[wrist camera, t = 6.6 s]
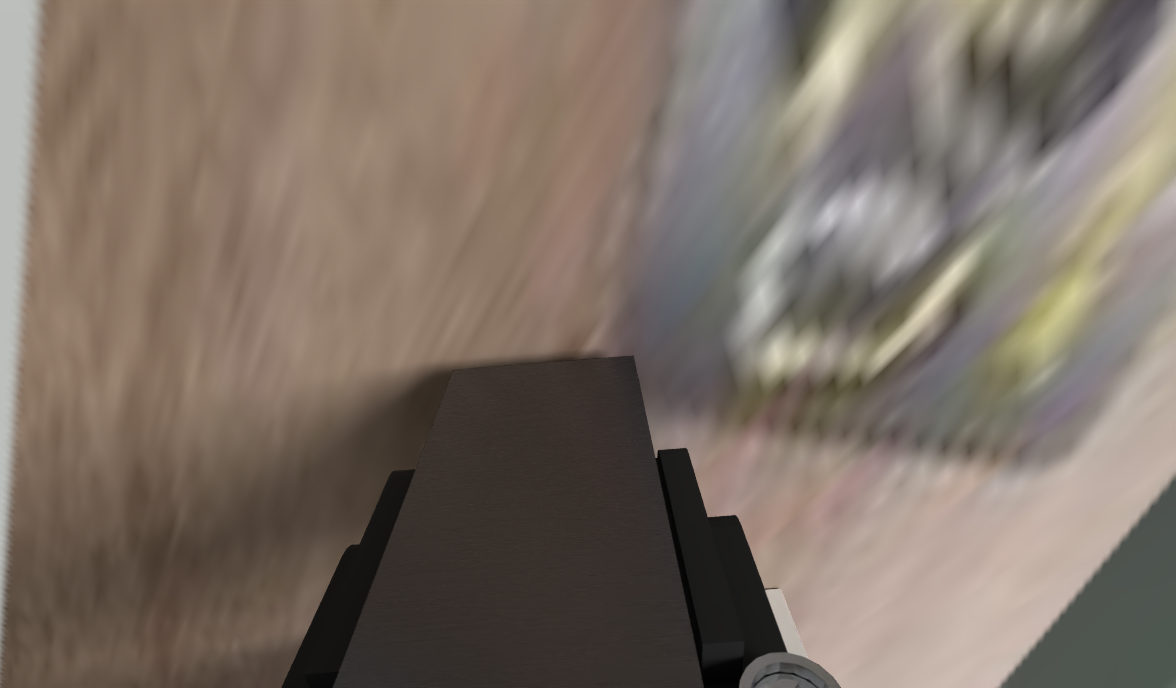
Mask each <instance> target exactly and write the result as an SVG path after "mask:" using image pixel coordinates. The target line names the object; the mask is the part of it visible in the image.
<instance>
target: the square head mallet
mask: <svg viewBox="0 0 1176 688" xmlns="http://www.w3.org/2000/svg"><path fill="white" fill-rule="evenodd" d="M333 688H704V685H703V680H702V676H701V671H700V666H699V661H698V657H697V652H696V647H695V643H694V638H693V633H692V628H691V624H690V619H689V614H688V610H687V605H686V600H685V596H684V591H683V586H682V581H681V577H680V572H679V567H678V563H677V558H676V553H675V548H674V544H673V539H672V534H671V530H670V525H669V520H668V515H667V511H666V506H665V501H664V497H663V492H662V487H661V483H660V478H659V473H658V468H657V464H656V459H655V454H654V450H653V445H652V440H651V435H650V431H649V426H648V421H647V417H646V412H645V407H644V403H643V398H642V393H641V388H640V384H639V379H638V374H637V370H636V365H635V360H634V356H622V357H609V358H597V359H585V360H572V361H560V362H547V363H535V364H523V365H510V366H498V367H486V368H473V369H461V370H453V372H452V375H451V378H450V380H449V383H448V386H447V388H446V391H445V393H444V396H443V399H442V401H441V404H440V407H439V409H438V412H437V415H436V417H435V420H434V422H433V425H432V428H431V430H430V433H429V436H428V438H427V441H426V444H425V446H424V449H423V451H422V454H421V457H420V459H419V462H418V465H417V467H416V470H415V472H414V475H413V478H412V480H411V483H410V486H409V488H408V491H407V494H406V496H405V499H404V501H403V504H402V507H401V509H400V512H399V515H398V517H397V520H396V523H395V525H394V528H393V530H392V533H391V536H390V538H389V541H388V544H387V546H386V549H385V552H384V554H383V557H382V559H381V562H380V565H379V567H378V570H377V573H376V575H375V578H374V580H373V583H372V586H371V588H370V591H369V594H368V596H367V599H366V602H365V604H364V607H363V609H362V612H361V615H360V617H359V620H358V623H357V625H356V628H355V631H354V633H353V636H352V638H351V641H350V644H349V646H348V649H347V652H346V654H345V657H344V659H343V662H342V665H341V667H340V670H339V673H338V675H337V678H336V681H335V683H334V686H333Z"/></svg>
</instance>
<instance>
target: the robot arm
mask: <svg viewBox="0 0 1176 688" xmlns="http://www.w3.org/2000/svg"><path fill="white" fill-rule="evenodd" d="M655 459H656V464H657V468H658V473H659V478H660V483H661V487H662V492H663V497H664V501H665V506H666V511H667V515H668V520H669V525H670V530H671V534H672V539H673V544H674V548H675V553H676V558H677V563H678V567H679V572H680V577H681V581H682V586H683V591H684V596H685V600H686V605H687V610H688V614H689V619H690V624H691V628H692V633H693V638H694V643H695V647H696V652H697V657H698V661H699V666H700V671H701V676H702V680H703V685H704V688H841V687H840V685H839V684H838V683H837V681H836V680H835V679H834V677H833V676H832V675H830V674H829V673H828V672H827V671H826V670H825V669H823V668H822V667H821V666H820V665H819V664H817V663H815V662H813V661H811V660H809V659H807V658H805V657H803V656H800V655H795V654H791V653H788V652H787V649H786V646H785V643H784V641H783V638H782V635H781V633H780V630H779V627H778V624H777V622H776V619H775V616H774V613H773V611H772V608H771V605H770V602H769V600H768V597H767V594H766V592H765V589H764V586H763V583H762V581H761V578H760V575H759V572H758V570H757V567H756V564H755V561H754V559H753V556H752V553H751V550H750V548H749V545H748V542H747V540H746V537H745V534H744V531H743V529H742V526H741V524H740V521H739V519H738V518H737V516H736V515H732V516H719V517H707V513H706V510H705V507H704V503H703V500H702V497H701V493H700V490H699V487H698V483H697V480H696V477H695V473H694V470H693V466H692V463H691V460H690V456H689V453H688V450H687V449H686V448H680V449H667V450H658V454H657V458H655ZM415 470H416V469H415ZM415 470H402V471H393V472H392V473H391V474H390V476H389V478H388V481H387V483H386V485H385V488H384V490H383V492H382V494H381V497H380V499H379V501H378V504H377V506H376V508H375V510H374V513H373V515H372V517H371V520H370V522H369V524H368V527H367V529H366V531H365V533H364V536H363V538H362V540H361V543H360V544H359V545H351V546H349V547H348V548H347V549H346V551H345V552H344V554H343V556H342V558H341V560H340V562H339V564H338V566H337V568H336V571H335V573H334V575H333V577H332V579H331V581H330V584H329V586H328V588H327V590H326V592H325V594H324V597H323V599H322V601H321V603H320V605H319V607H318V610H317V612H316V614H315V616H314V618H313V620H312V623H311V625H310V627H309V629H308V631H307V633H306V636H305V638H304V640H303V642H302V644H301V646H300V649H299V651H298V653H297V655H296V657H295V659H294V662H293V664H292V666H291V668H290V670H289V672H288V675H287V677H286V679H285V681H284V683H283V685H282V688H333V686H334V683H335V681H336V678H337V675H338V673H339V670H340V667H341V665H342V662H343V659H344V657H345V654H346V652H347V649H348V646H349V644H350V641H351V638H352V636H353V633H354V631H355V628H356V625H357V623H358V620H359V617H360V615H361V612H362V609H363V607H364V604H365V602H366V599H367V596H368V594H369V591H370V588H371V586H372V583H373V580H374V578H375V575H376V573H377V570H378V567H379V565H380V562H381V559H382V557H383V554H384V552H385V549H386V546H387V544H388V541H389V538H390V536H391V533H392V530H393V528H394V525H395V523H396V520H397V517H398V515H399V512H400V509H401V507H402V504H403V501H404V499H405V496H406V494H407V491H408V488H409V486H410V483H411V480H412V478H413V475H414V472H415Z"/></svg>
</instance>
